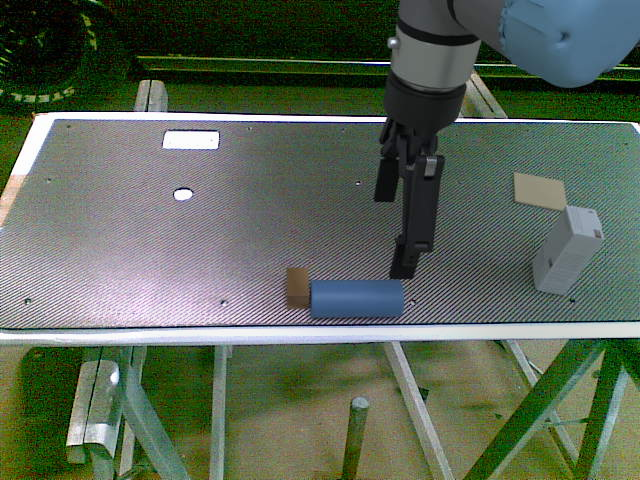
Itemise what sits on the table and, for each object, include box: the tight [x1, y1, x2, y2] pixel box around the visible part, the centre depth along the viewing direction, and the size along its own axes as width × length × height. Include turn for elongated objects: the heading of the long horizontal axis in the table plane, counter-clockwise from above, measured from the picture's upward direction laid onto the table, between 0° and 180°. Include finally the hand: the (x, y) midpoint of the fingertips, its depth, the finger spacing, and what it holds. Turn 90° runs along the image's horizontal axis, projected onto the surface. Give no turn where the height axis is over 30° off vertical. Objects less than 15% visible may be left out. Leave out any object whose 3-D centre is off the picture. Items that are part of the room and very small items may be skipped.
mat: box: [512, 171, 568, 213], centre depth 86 cm, size 9×9×1 cm
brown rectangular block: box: [286, 267, 310, 310], centre depth 66 cm, size 3×5×3 cm, turn 3°
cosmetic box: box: [531, 205, 605, 296], centre depth 67 cm, size 6×4×12 cm
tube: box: [309, 279, 405, 319], centre depth 63 cm, size 12×5×5 cm
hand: (391, 235), depth 60 cm, fingers open, 13 cm apart
